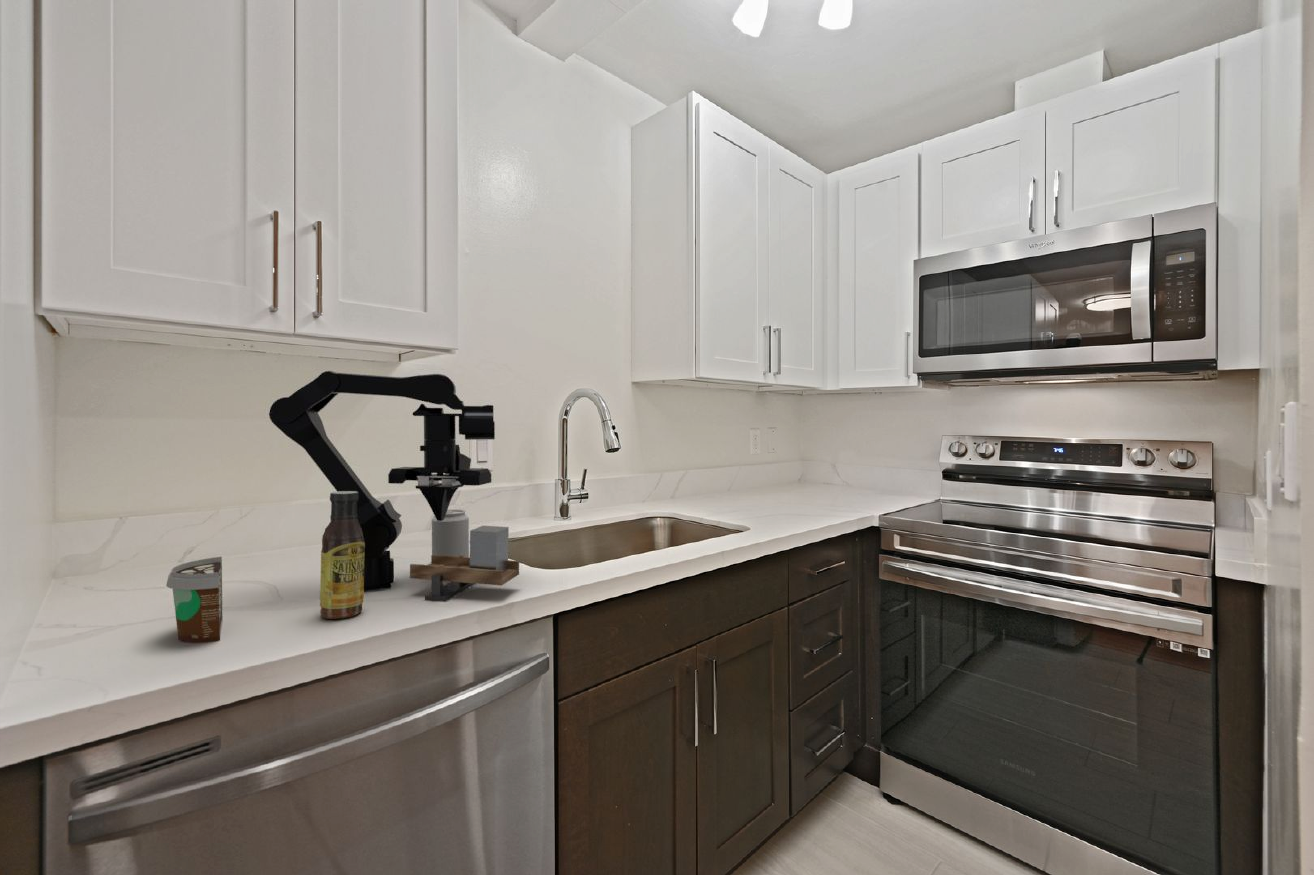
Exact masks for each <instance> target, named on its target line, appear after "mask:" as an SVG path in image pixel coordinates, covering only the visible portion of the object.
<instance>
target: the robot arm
mask: <svg viewBox="0 0 1314 875" xmlns="http://www.w3.org/2000/svg"><path fill="white" fill-rule="evenodd" d="M456 392H457V387H456V385H455V383H454V382H453V381H452V380H451V379H450V378H449V377H448V376H447V375H445V374H441V373H431V374H429V373H428V374H421V375H420V374H418V375H413V376H403V377H400V376H387V375H374V374H373V375H372V374H357V373H342V372H336V371H333V370H326V371H323V372H321V373H320V374H319V375H318V376H316V378H314V380H312V381H311V382H309V383H307V384H306V385H304V386H302V387H300V388H299V389H297V390H296V391H294V393H292V394H290V395H289V396H287V397H281V398H277V400H275V401H274V402H273V403H272V405H271V406H270V409H269V412H268V416H269V419H270V422H271V423H273V425H274V426H275V427H276V428H277V429H278V430H280V431H281V432H282V433H283V434H284V435H285V436H286V437H288V438H289V439H290V440H292V441H293V442H295V443H296V444H297V445H299V446H300V447H301V448H303V449H304V450H305V452H306V454H308V455H309V457H310V459H312V461H313V462H314V463H315V465H316V467H318V469H319V470H320V471H321V472H322V474H323V476H325V478H326V479H327V480H328V482H329V483H330V484H331V485H332V487H333V489H335V492H337V491H357V492H358V501H357V519H358V522H359V525H360V527H361V529H362V533H363V538H364V542H365V553H364V592H368V591H377V590H387V589H391V588H392V584H394V583H395V572H394V571H395V566H394V565H395V563H394V558H393V557H391V550H388V549H389V548H390V546H391V545H392V544H394V542H395V541H396V540H397V539H398V537H399V536H400V534H401V532H402V527H403V524H402V520H401V519H400V518H401V517H402V514H400V513H399V512H398V511H397V510H395V508H394V506H393V504H392V502H391V500H389V499H386V500H385V501H384V502H383V503H382V502H381V501H380V500H378V499H376V498H375V497H374V496H373V495H372V494H371V492H370V491H369V489H368V488H367V487H366V486H365V485H364V483H363V482H362V480H361V479H360V477H359V476H358V475H357V474H356V473H355V471H354V470H353V469H352V467H351V465H349V464H348V462H347V460H345V458H344V456H343V455H342V454H341V453H340V452H339V450H338V449H337V448H336V446H335V445H334V444H333V442H332V441H331V439H329V437H328V436H327V433H326V429H325V427H324V423H323V421H322V419H321V416H320V415H319V412H320V411H322V410H324V408H326V407H327V405H328V404H329V403H330V402H331V401H333V399H334V398H335V397H337V396H338V395H339V394H355V395H367V396H369V395H370V396H386V397H399V398H400V397H401V398H408V399H412V400H415V401H416V400H417V401H420V402H421V401H422V402H425V403H429V404H434V405H438V406H439V405H440V406H442V405H445V406H446V407H447V408H450V409H451V410H454V411H461V413H444V408H443V407H427V406H426V405H425V403H420V405H419V407H418V408H417V409H415V411H413V412H412V416H413V417H423V444H422V445H419V451H420V452H423V466H402V467H395V468H391V469H390V471H389V473H388V474H387V484H396V485H397V484H399V485H403V484H404V483H405V482H406V481H417V485H415V489H418V490H420V492H421V494H422V495H423V497H424V499H425V500H426V501H427V504H428V505H429V507H430V509H431V511H432V513H433V515H434V516H435V517H436V519H437V521H443V520H444V518H445V515H446V512H447V510H449V507H450V503H451V502H452V498H453V497H454V495H455V493H456V491H457V490H458V489H459V488H462V487H464V486H481V485H486V484H489V483H490V484H491V483H492V473H491V471H490V469H489V468H487V467H485V468H481V467H478V468H477V467H471V465H472V464H471V463H472V458H471V457H468V456H467V455H466V454H463V453H461V450H460V444H456V443H457V442H456V417H458V435H462V436H464V440H465V441H466V440H468V441H470V440H472V441H473V440H475V441H477V440H478V441H479V440H495V438H496V437H495V435H496V434H495V433H496V432H495V431H496V430H495V429H496V424H495V422H496V421H494V405H492V404H486V405H465V403H464V401H463V400H461V399H460V398H459V397H458V395H457V393H456Z"/></svg>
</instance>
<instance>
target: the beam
mask: <svg viewBox="0 0 1314 875" xmlns="http://www.w3.org/2000/svg"><path fill="white" fill-rule="evenodd" d="M430 556H431V560H430V561H431V562H430V563H428V564H418V563H410V564H409V579H413V580H414V579H415V580H425V581H428V580H429V581H431V576H432V575H434V574H438V575H443V582H463V583H475V585H488V586H489V585H491V586H504V585H505V584H507V583H509V581H511V580H512V579H514V578H516V577H517V576H519V575H520V561H519V560H510V559H508V570H507V571H505V572H504V573H503V571H502V570H488V569H475V568H470V556H469V557H464V556H459V557H455V556H441V555H432V554H431V555H430Z"/></svg>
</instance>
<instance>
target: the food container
mask: <svg viewBox="0 0 1314 875" xmlns="http://www.w3.org/2000/svg"><path fill="white" fill-rule="evenodd" d="M222 559H223V558H222V556H215V557H209V558H208V557H207V558H202V559H201V558H200V559H197V560H193V561H188V562H184V563H180V564H178V565H176V566H174V567H173V568H171V569H170V570H171V571H170V572H169V574H168V576H167V581H166V583H165V584H166V586H165V587H167V588H169V589H172V595H173V606H174V611H175V620H176V621H175V622H176V629H177V639H178V640H179V641H180V642H183V643H188V644H201V643H202V644H203V643H212V642H219V641H221V636H222V628H223V622H224V620H223V619H224V618H223V617H224V616H223V560H222Z"/></svg>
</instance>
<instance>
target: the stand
mask: <svg viewBox="0 0 1314 875" xmlns="http://www.w3.org/2000/svg"><path fill="white" fill-rule="evenodd" d="M430 581H431V584H430V585H431V591H430V592H429V593H427V594H425V595H424V601H429V602H431V601H432V602H448V601H450V600H451V599H452V598H455V597H456V596H457V595H460V594H461V593H462V592H465V591H467V590H468V589H469V588H472V587H473V586H474V585H476V584H475V583H463V582H450V581H448V582H447V583H446V584H444V581H443V575H438V574H434V575H432V576H431V580H430Z"/></svg>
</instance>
